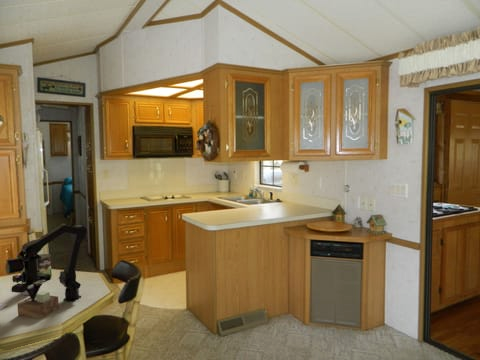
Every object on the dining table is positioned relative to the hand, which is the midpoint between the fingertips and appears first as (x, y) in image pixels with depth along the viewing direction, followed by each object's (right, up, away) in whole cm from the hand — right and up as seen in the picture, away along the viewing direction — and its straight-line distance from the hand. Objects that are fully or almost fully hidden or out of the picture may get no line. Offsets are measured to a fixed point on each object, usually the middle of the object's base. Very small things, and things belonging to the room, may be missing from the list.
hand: (33, 299), depth 185 cm
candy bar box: (-15, -4, +25) cm, 30 cm away
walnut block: (+3, -6, 0) cm, 7 cm away
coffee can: (-19, -2, +45) cm, 49 cm away
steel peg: (0, -6, +1) cm, 6 cm away
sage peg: (+6, -2, -2) cm, 7 cm away
